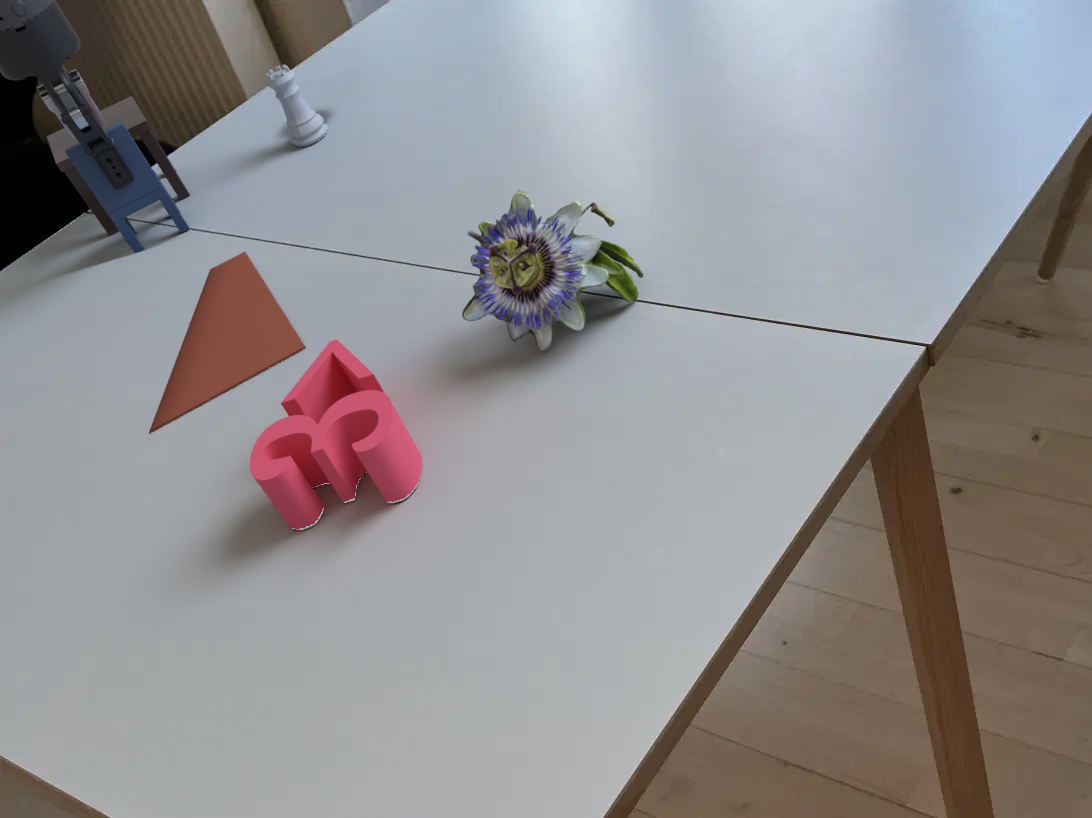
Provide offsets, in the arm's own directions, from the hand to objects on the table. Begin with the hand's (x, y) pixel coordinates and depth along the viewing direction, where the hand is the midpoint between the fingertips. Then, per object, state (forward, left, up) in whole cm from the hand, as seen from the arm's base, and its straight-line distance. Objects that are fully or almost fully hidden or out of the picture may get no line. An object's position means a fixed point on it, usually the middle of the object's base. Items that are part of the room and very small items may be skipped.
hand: (124, 181), depth 110 cm
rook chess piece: (+15, +15, -7) cm, 22 cm away
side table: (-5, +12, -7) cm, 15 cm away
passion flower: (+43, -33, -7) cm, 55 cm away
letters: (+27, -43, -7) cm, 51 cm away
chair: (-1, +2, -7) cm, 7 cm away
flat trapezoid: (+9, -21, -7) cm, 24 cm away
